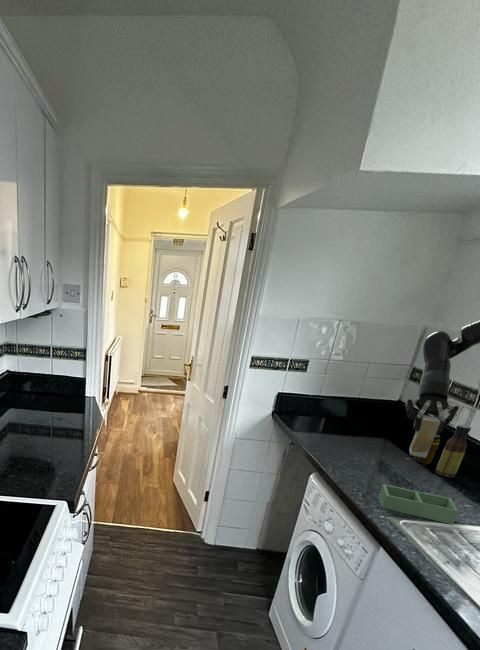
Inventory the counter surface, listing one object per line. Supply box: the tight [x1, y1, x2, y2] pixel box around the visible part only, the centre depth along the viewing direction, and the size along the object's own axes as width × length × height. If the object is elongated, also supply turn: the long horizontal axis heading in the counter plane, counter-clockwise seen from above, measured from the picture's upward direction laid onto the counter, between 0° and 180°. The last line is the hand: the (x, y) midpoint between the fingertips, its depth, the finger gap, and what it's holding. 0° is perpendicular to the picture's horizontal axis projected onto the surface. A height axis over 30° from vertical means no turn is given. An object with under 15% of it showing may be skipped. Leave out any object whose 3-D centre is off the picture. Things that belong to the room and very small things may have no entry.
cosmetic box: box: [408, 414, 440, 458], centre depth 132 cm, size 6×4×12 cm
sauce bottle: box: [435, 424, 472, 479], centre depth 156 cm, size 7×6×20 cm
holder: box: [378, 483, 460, 525], centre depth 131 cm, size 18×10×5 cm, turn 63°
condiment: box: [405, 434, 441, 465], centre depth 169 cm, size 7×8×12 cm
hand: (427, 431), depth 130 cm, fingers closed on cosmetic box, 4 cm apart
